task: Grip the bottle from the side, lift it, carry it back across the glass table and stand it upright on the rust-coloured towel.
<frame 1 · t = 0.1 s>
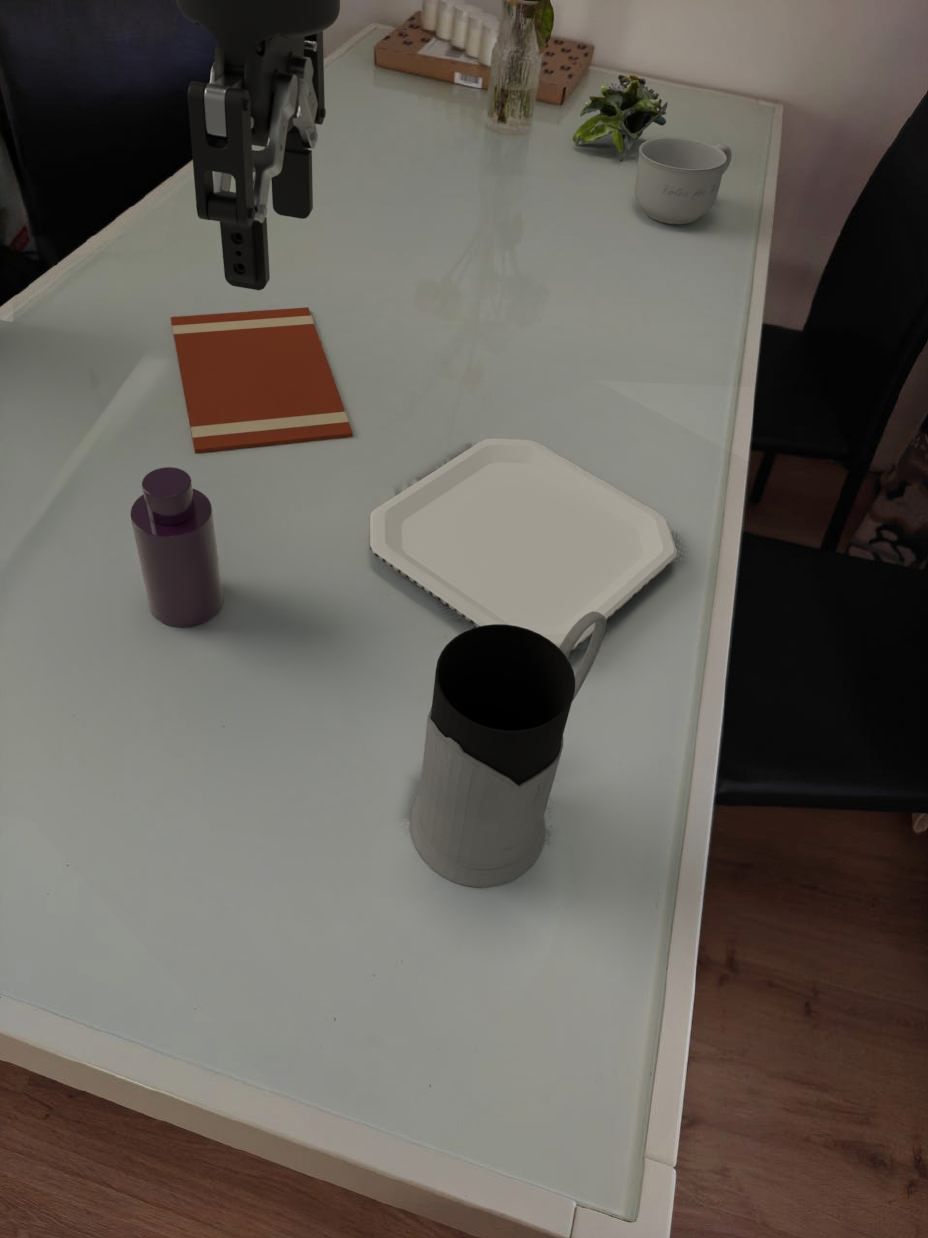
hand: (271, 247, 55), 28 cm above the table, tool pointing down, fingers open, 8 cm apart
towel: (256, 375, 95), on the table
bottle: (186, 601, 75), on the table
plate: (520, 552, 82), on the table
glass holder: (504, 800, 65), on the table
green leafy clump: (617, 151, 140), on the table
teacup: (678, 213, 128), on the table
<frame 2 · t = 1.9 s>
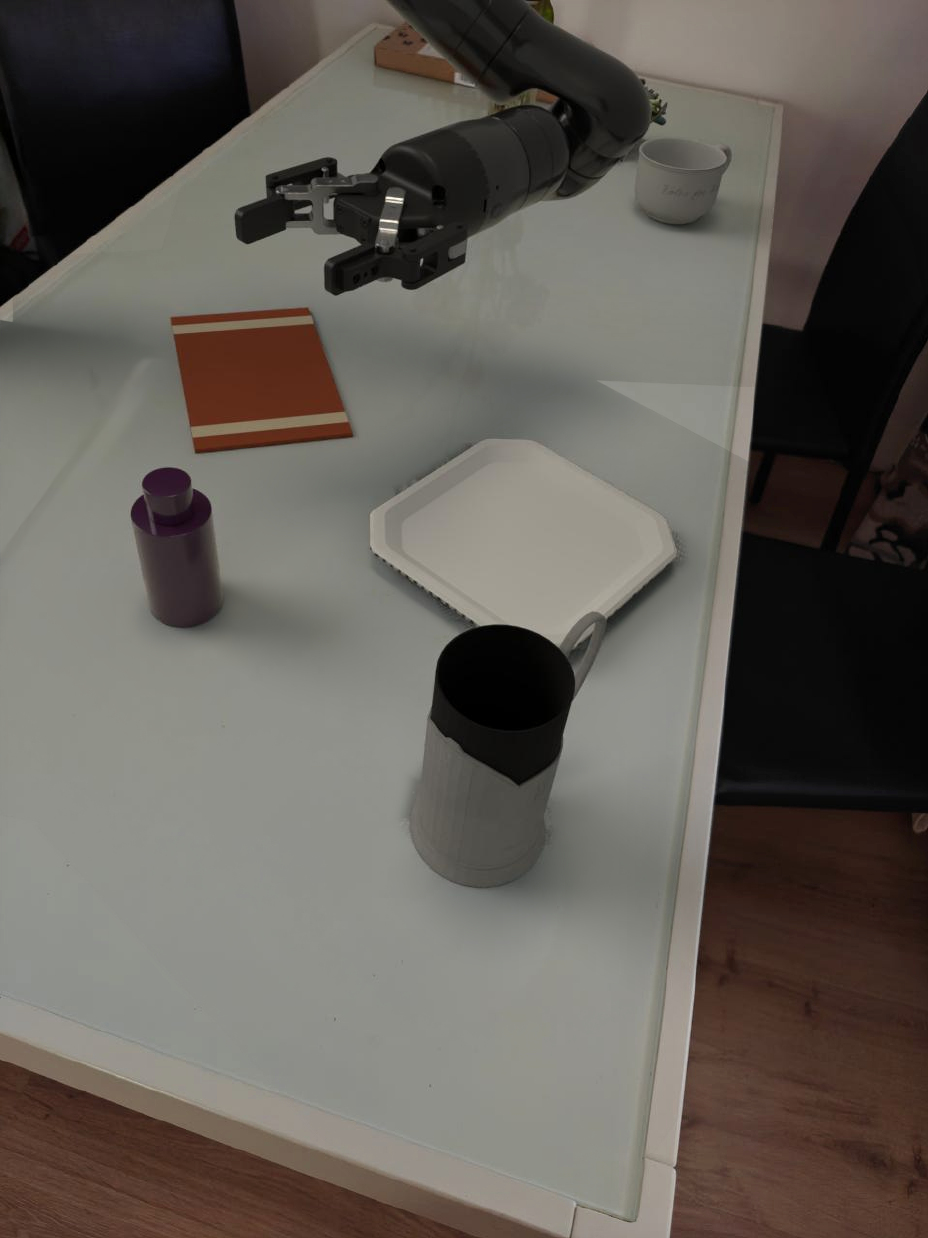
hand: (282, 253, 63), 24 cm above the table, tool horizontal, fingers open, 8 cm apart
nothing on the table moved.
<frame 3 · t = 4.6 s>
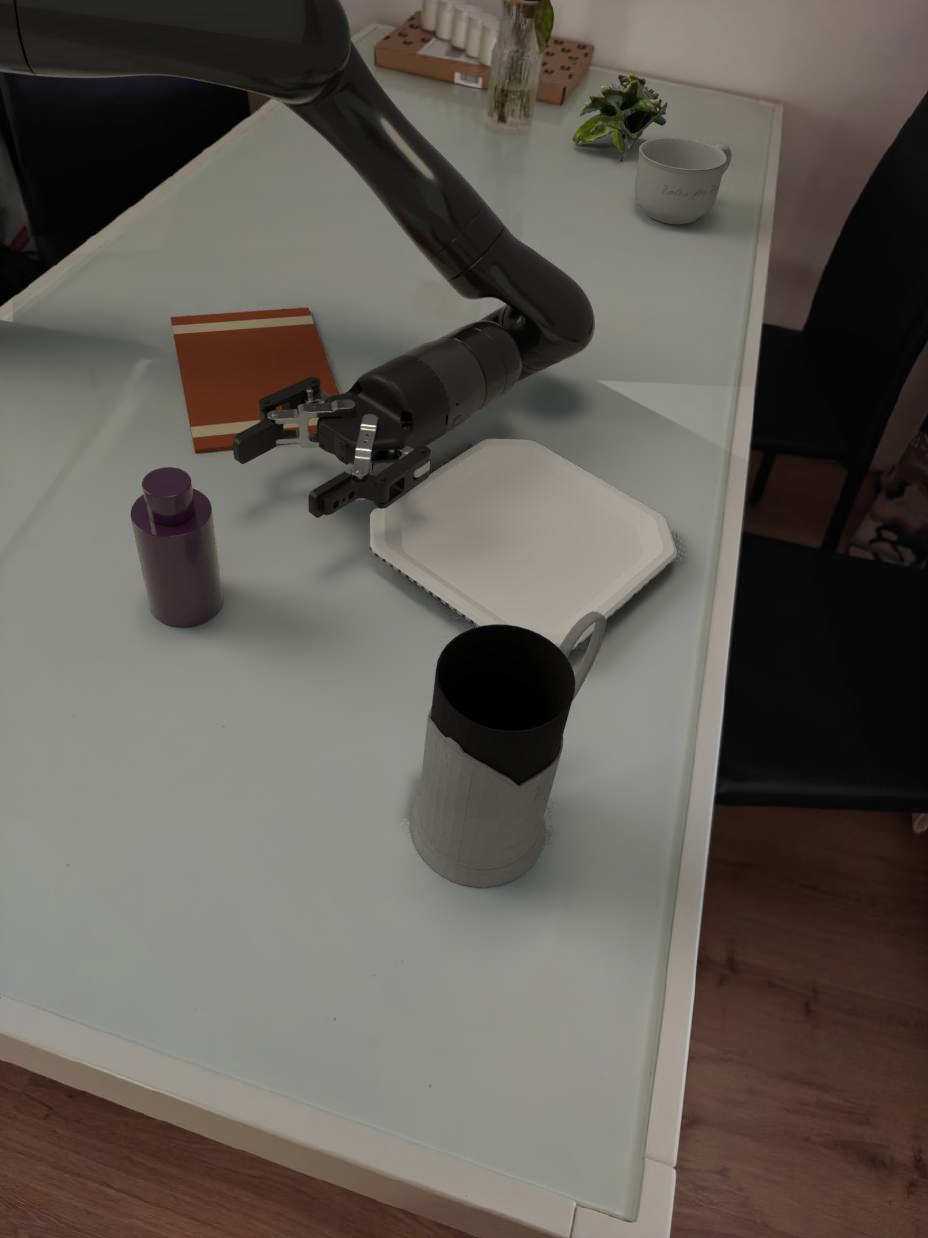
hand: (273, 479, 75), 7 cm above the table, tool horizontal, fingers open, 8 cm apart
nothing on the table moved.
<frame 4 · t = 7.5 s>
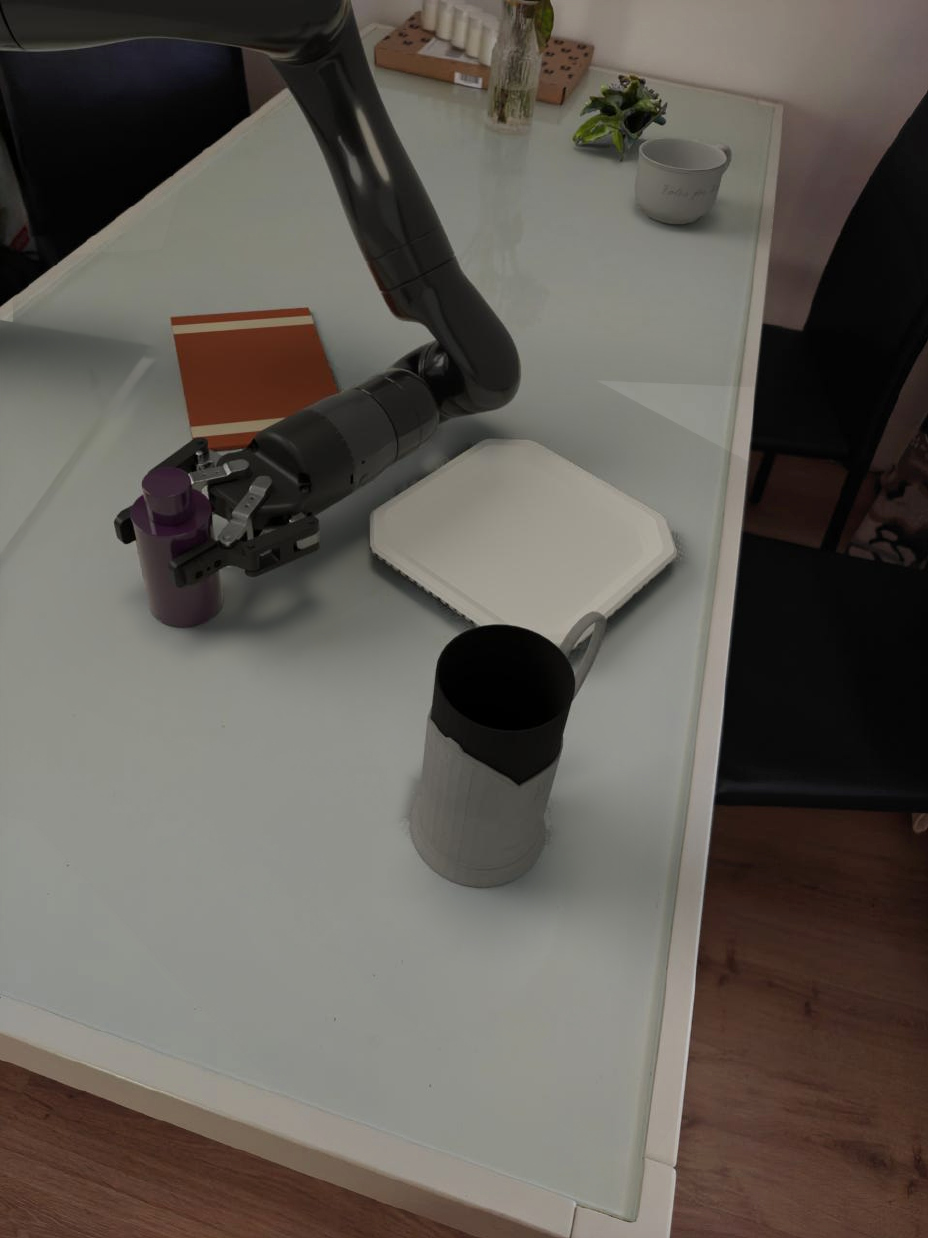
hand: (145, 554, 68), 7 cm above the table, tool horizontal, fingers closed on bottle, 5 cm apart
bottle: (186, 601, 75), on the table, touching gripper
everything else where it was.
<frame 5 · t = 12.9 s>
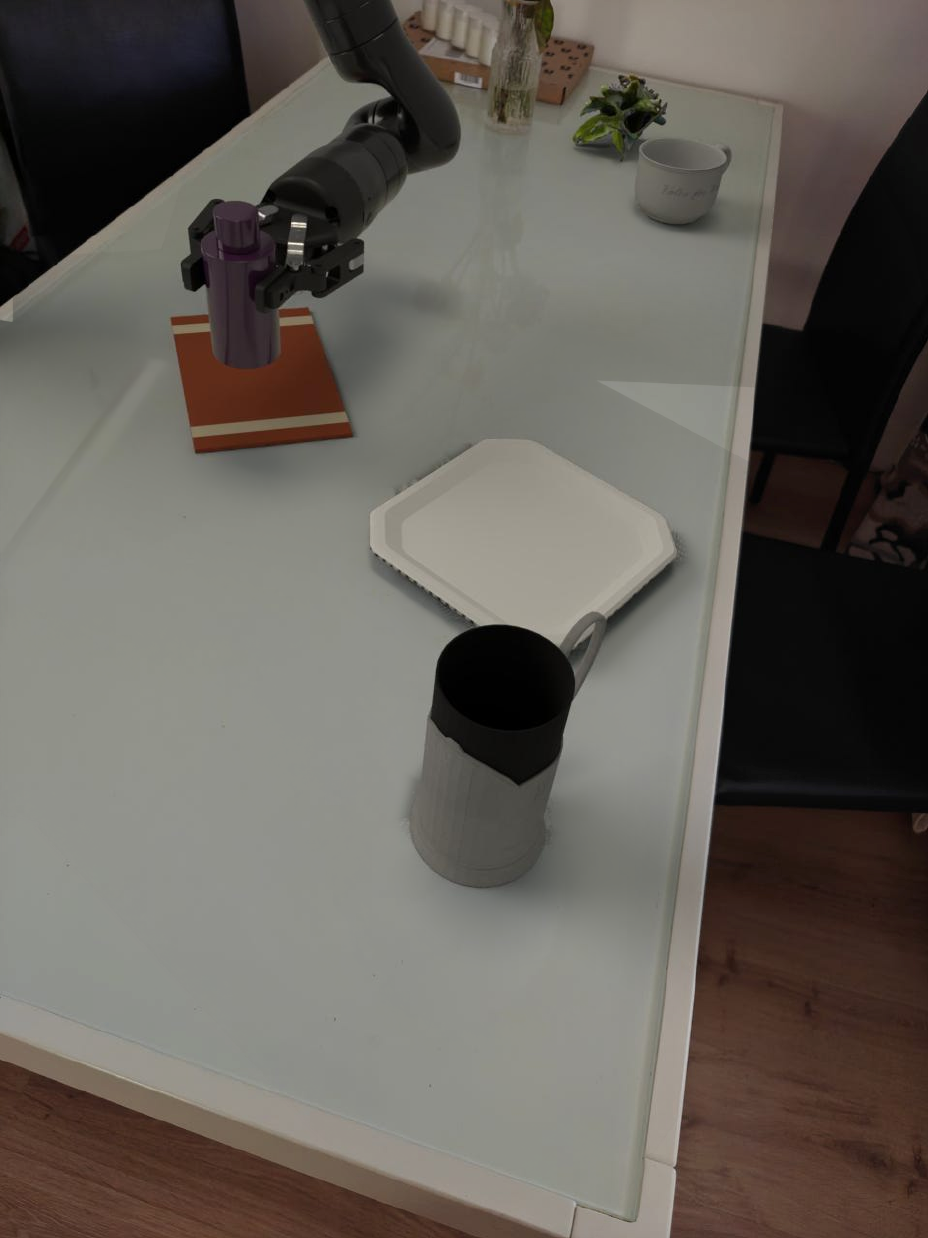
hand: (223, 289, 73), 17 cm above the table, tool horizontal, fingers closed on bottle, 5 cm apart
bottle: (246, 350, 80), point 10 cm above the table, touching gripper
everything else where it was.
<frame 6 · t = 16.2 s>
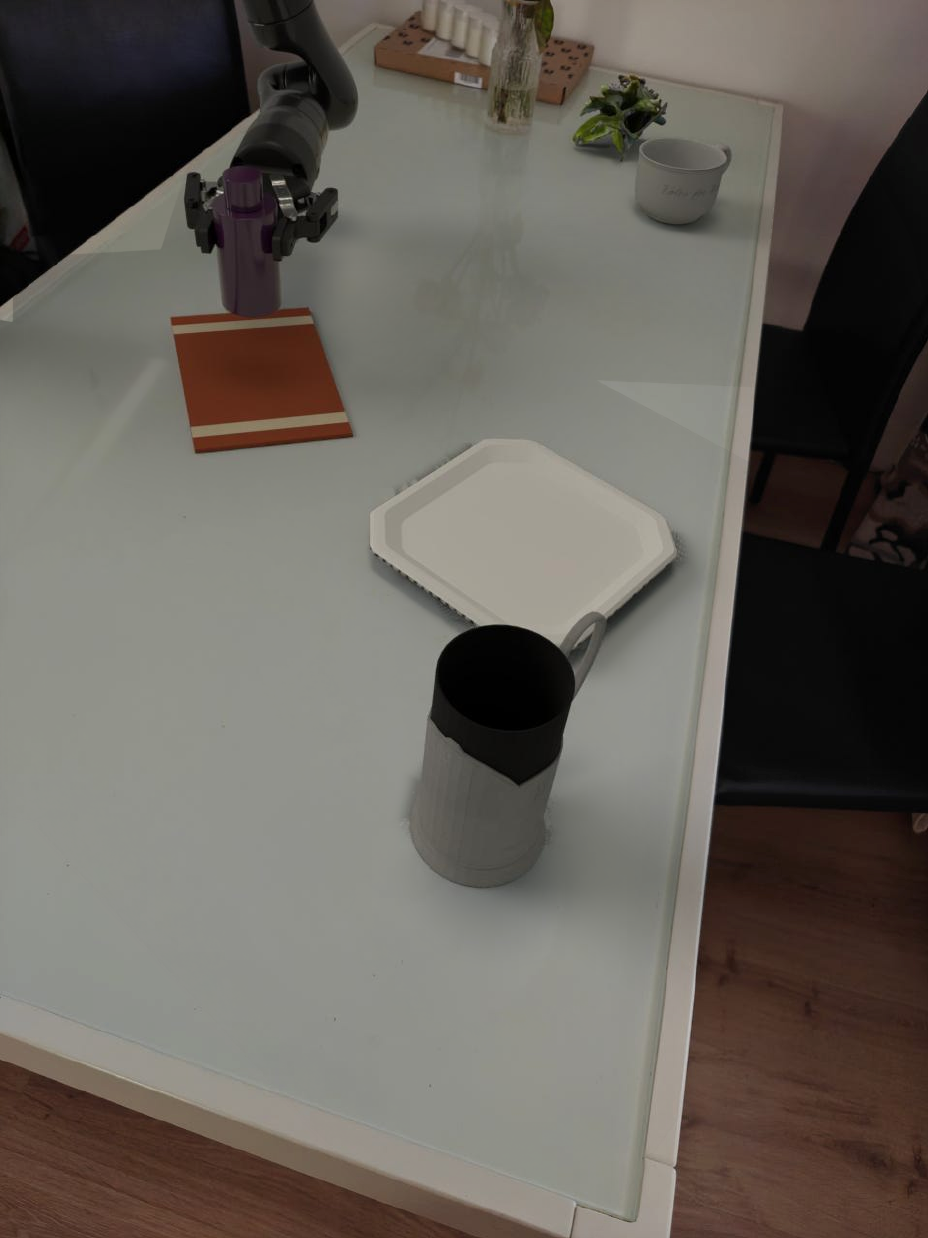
hand: (240, 246, 83), 14 cm above the table, tool horizontal, fingers closed on bottle, 5 cm apart
bottle: (252, 301, 90), point 8 cm above the table, touching gripper
everything else where it was.
when the fingers open (7 cm above the table, at t = 18.7 s): bottle stays where it is, resting on towel.
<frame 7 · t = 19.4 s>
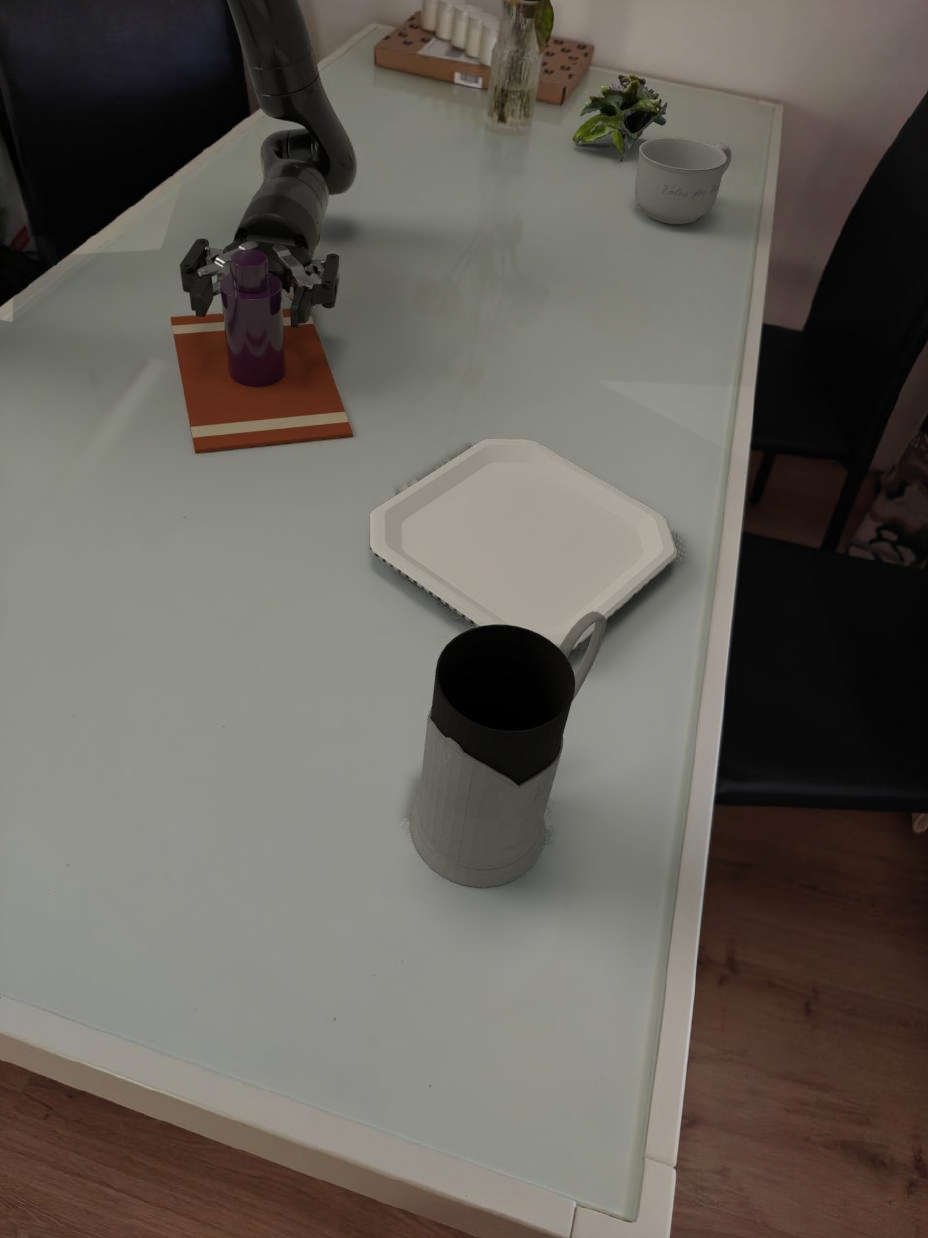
hand: (246, 313, 88), 8 cm above the table, tool horizontal, fingers open, 8 cm apart
bottle: (257, 370, 95), resting on towel
everything else where it was.
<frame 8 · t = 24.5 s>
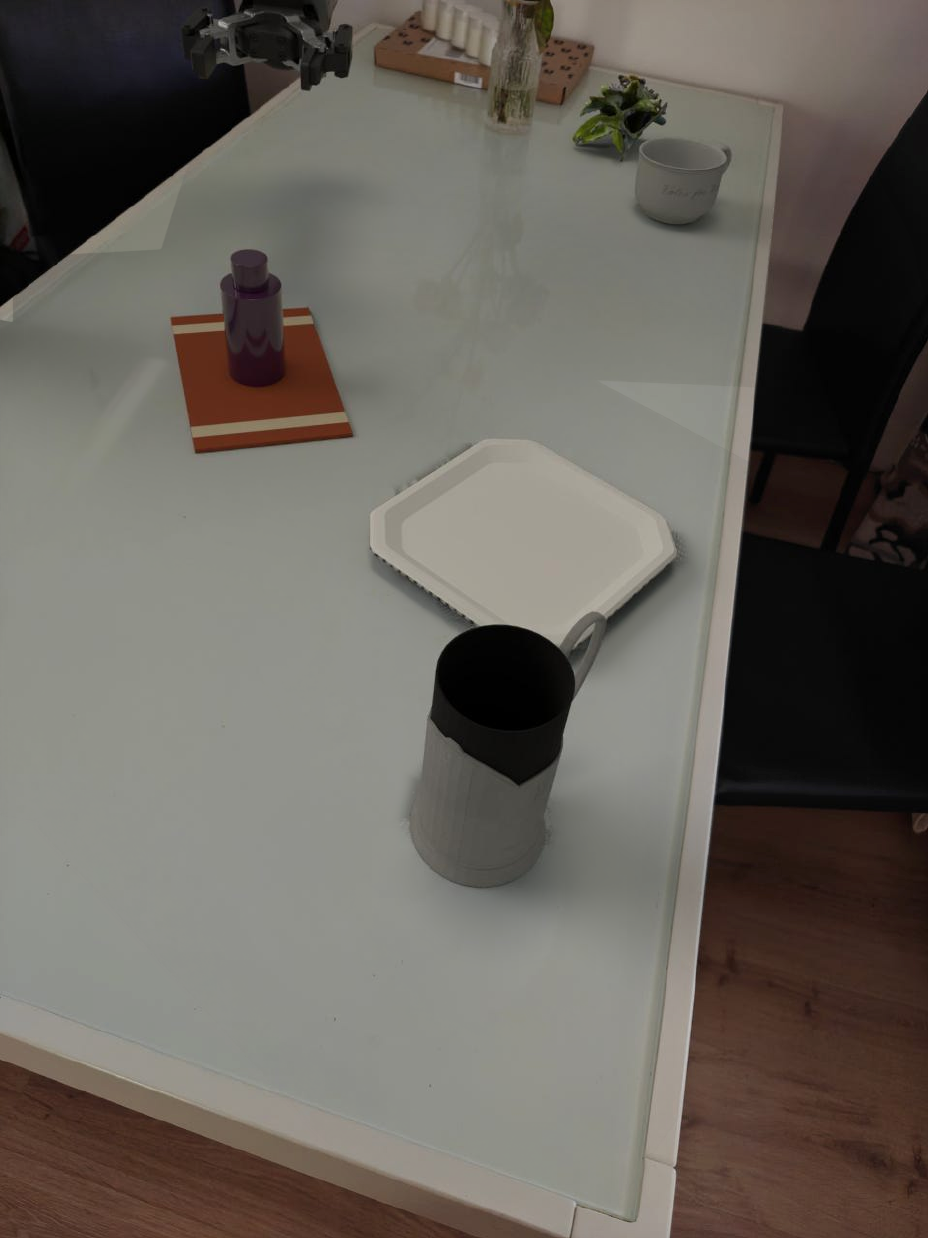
hand: (253, 71, 81), 25 cm above the table, tool horizontal, fingers open, 8 cm apart
nothing on the table moved.
at the end: bottle 0.1 cm from the towel (horizontally); bottle resting on towel; bottle tilted 0° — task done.
